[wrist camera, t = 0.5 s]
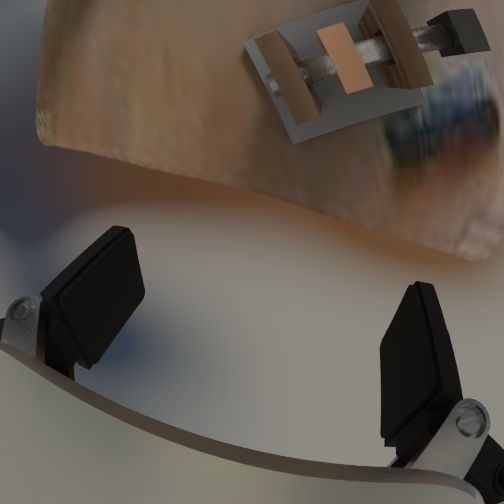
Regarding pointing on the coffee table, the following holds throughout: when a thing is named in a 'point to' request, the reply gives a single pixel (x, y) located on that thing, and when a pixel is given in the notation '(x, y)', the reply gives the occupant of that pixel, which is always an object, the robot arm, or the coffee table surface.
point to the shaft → (428, 39)
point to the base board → (329, 90)
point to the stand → (371, 25)
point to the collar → (344, 58)
